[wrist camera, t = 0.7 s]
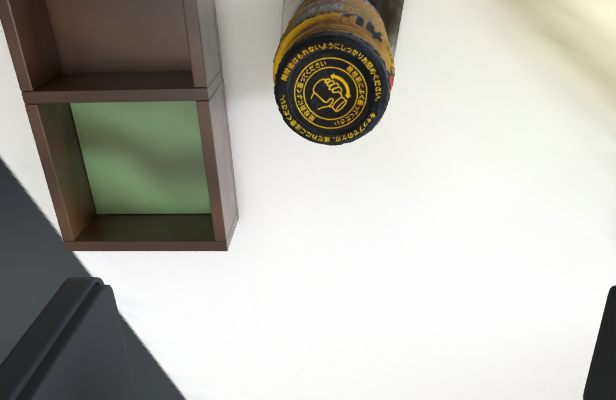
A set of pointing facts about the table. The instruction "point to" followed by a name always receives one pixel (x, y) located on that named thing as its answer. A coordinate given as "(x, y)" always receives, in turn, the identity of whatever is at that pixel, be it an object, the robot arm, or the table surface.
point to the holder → (128, 120)
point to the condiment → (335, 66)
